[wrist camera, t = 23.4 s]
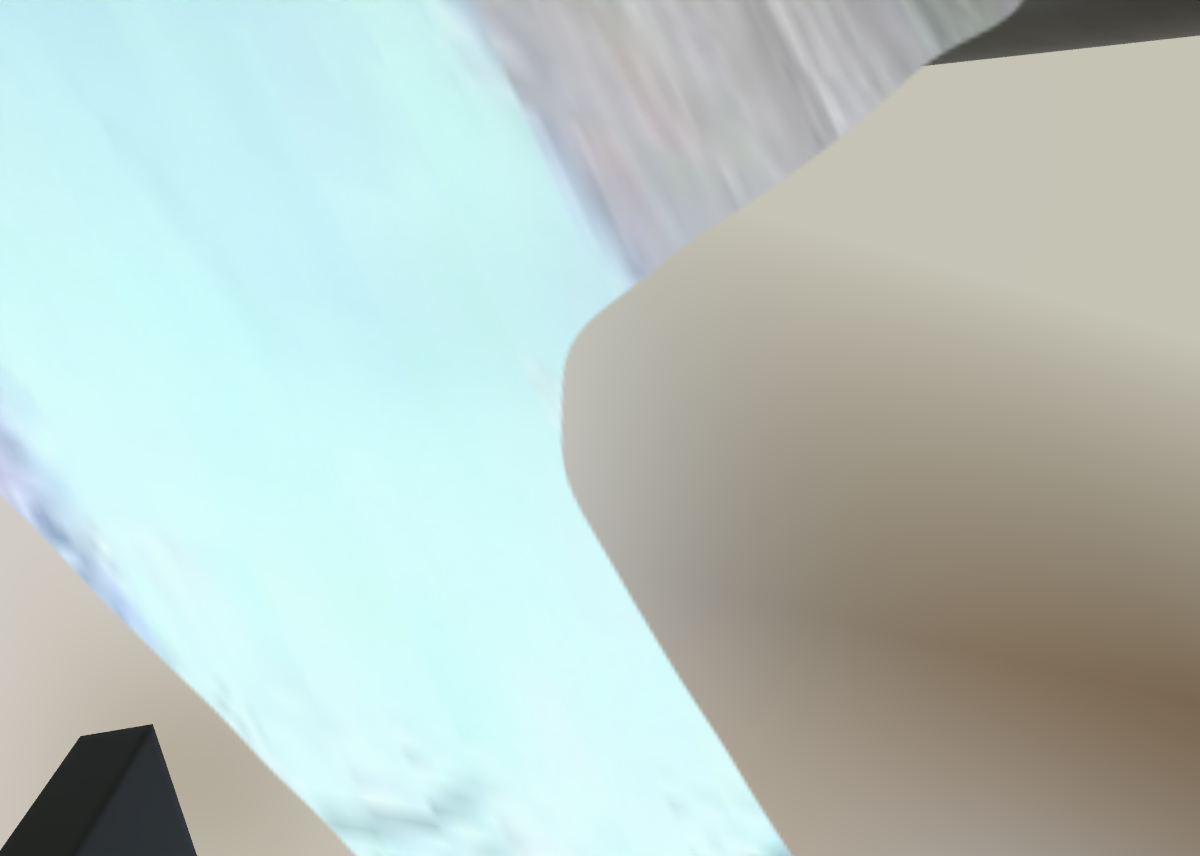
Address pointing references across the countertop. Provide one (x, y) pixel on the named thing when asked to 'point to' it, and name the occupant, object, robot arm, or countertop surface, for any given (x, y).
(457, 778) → the countertop surface
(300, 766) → the countertop surface
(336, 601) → the countertop surface
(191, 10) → the countertop surface
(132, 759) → the robot arm
